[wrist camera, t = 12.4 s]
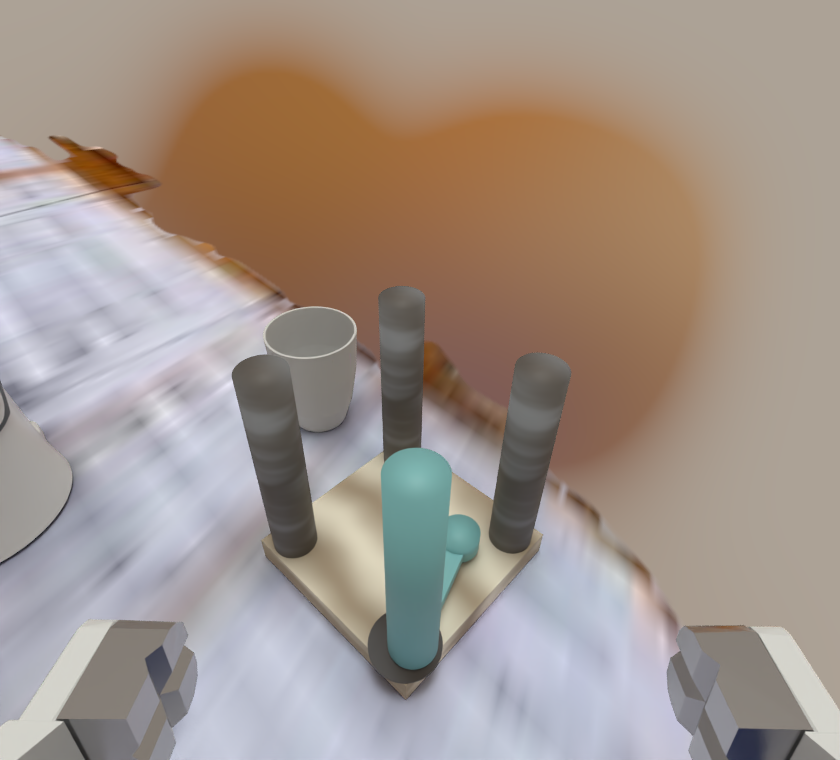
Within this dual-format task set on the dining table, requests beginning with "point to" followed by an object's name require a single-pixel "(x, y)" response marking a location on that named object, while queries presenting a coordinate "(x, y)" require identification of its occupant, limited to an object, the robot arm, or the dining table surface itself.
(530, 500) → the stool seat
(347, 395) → the cup
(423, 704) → the dining table surface
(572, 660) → the dining table surface
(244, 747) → the dining table surface
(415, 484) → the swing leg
